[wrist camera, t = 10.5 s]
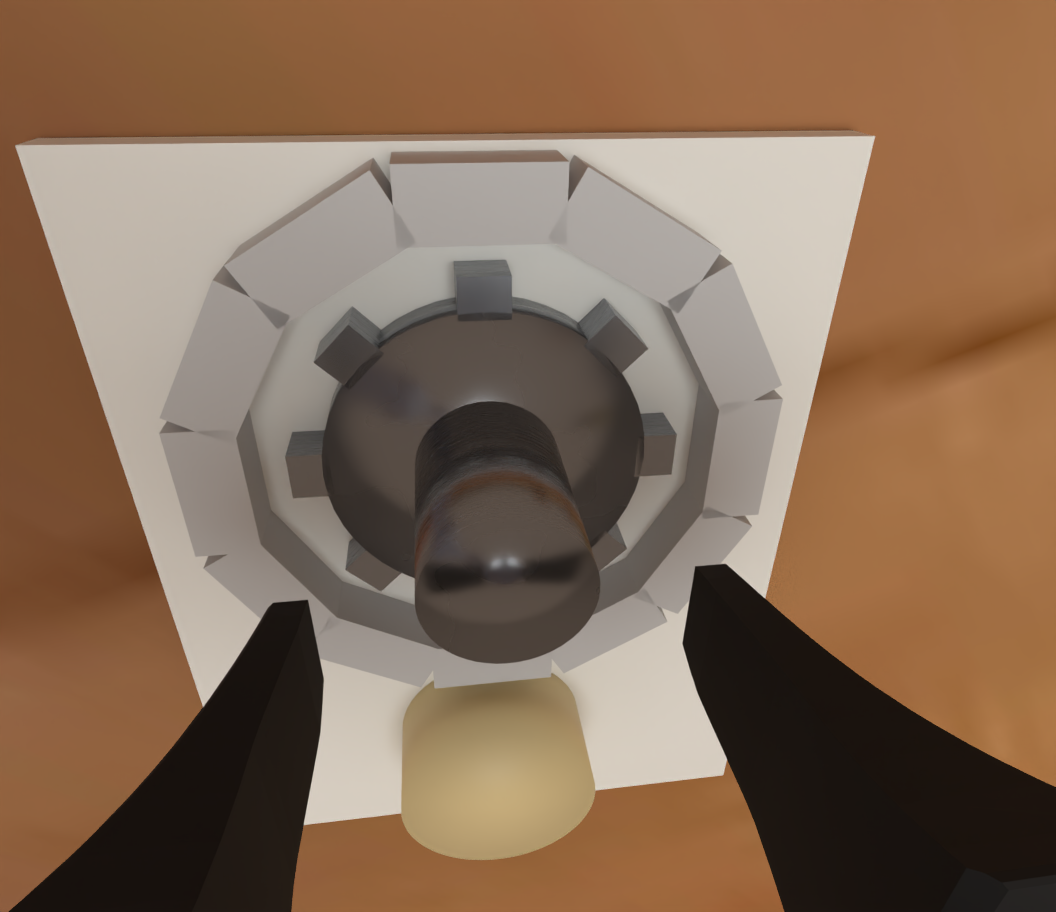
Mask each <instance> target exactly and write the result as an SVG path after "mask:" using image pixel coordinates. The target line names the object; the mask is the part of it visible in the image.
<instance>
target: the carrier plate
mask: <svg viewBox="0 0 1056 912" xmlns="http://www.w3.org/2000/svg"><path fill="white" fill-rule="evenodd" d="M874 138H875V136H872V135H869V134H865V133H861V132H857V131H853V130H825V131H720V132H616V133H512V134H408V135H303V136H199V137H95V138H36V139H33V140H30V141H27V142H24V143H21V144H18V145H15V147H16V150H17V153H18V155H19V158H20V161H21V164H22V167H23V170H24V173H25V176H26V179H27V182H28V185H29V188H30V191H31V194H32V197H33V200H34V203H35V206H36V209H37V212H38V215H39V218H40V221H41V224H42V227H43V230H44V233H45V236H46V239H47V242H48V245H49V248H50V251H51V254H52V257H53V260H54V263H55V266H56V269H57V272H58V275H59V278H60V281H61V284H62V287H63V290H64V293H65V296H66V299H67V302H68V305H69V308H70V311H71V314H72V317H73V320H74V323H75V326H76V329H77V332H78V335H79V338H80V341H81V344H82V347H83V350H84V353H85V356H86V359H87V362H88V365H89V367H90V370H91V373H92V376H93V379H94V382H95V385H96V388H97V391H98V394H99V397H100V400H101V403H102V406H103V409H104V412H105V415H106V418H107V421H108V424H109V427H110V430H111V433H112V436H113V439H114V442H115V445H116V448H117V451H118V454H119V457H120V460H121V463H122V466H123V469H124V472H125V475H126V478H127V481H128V484H129V487H130V490H131V493H132V496H133V499H134V502H135V505H136V508H137V511H138V514H139V517H140V520H141V523H142V526H143V529H144V532H145V535H146V538H147V541H148V544H149V547H150V550H151V553H152V556H153V559H154V562H155V565H156V568H157V571H158V574H159V576H160V579H161V582H162V585H163V588H164V591H165V594H166V597H167V600H168V603H169V606H170V609H171V612H172V615H173V618H174V621H175V624H176V627H177V630H178V633H179V636H180V639H181V642H182V645H183V648H184V651H185V654H186V657H187V660H188V663H189V666H190V669H191V672H192V675H193V678H194V681H195V684H196V687H197V690H198V693H199V696H200V699H201V702H202V705H203V707H204V705H205V704H206V703H207V701H208V700H209V698H210V697H211V696H212V694H213V693H214V691H215V690H216V688H217V687H218V685H219V684H220V683H221V681H222V680H223V678H224V677H225V675H226V674H227V672H228V671H229V669H230V668H231V667H232V665H233V664H234V662H235V660H236V659H237V657H238V656H239V654H240V653H241V651H242V650H243V648H244V647H245V645H246V643H247V642H248V640H249V639H250V637H251V635H252V634H253V632H254V630H255V629H256V627H257V625H258V624H259V622H260V620H261V619H262V617H263V615H264V613H265V612H266V610H267V608H268V607H269V606H270V605H271V604H272V603H275V602H287V601H298V600H308V602H309V607H310V612H311V617H312V622H313V627H314V632H315V637H316V642H317V647H318V652H319V657H320V662H321V667H322V672H323V677H324V687H323V704H322V718H321V732H320V738H319V744H318V750H317V755H316V761H315V766H314V772H313V777H312V783H311V788H310V793H309V799H308V804H307V809H306V815H305V820H304V825H307V824H316V823H324V822H332V821H341V820H349V819H358V818H366V817H375V816H383V815H391V814H400V813H401V816H402V820H403V823H404V825H405V827H406V829H407V831H408V832H409V833H410V835H411V836H412V837H413V838H414V839H415V840H416V841H417V842H419V843H420V844H422V845H423V846H425V847H426V848H428V849H430V850H432V851H434V852H437V853H440V854H443V855H446V856H450V857H454V858H461V859H470V860H492V859H502V858H508V857H514V856H518V855H522V854H526V853H529V852H532V851H535V850H538V849H540V848H543V847H545V846H547V845H549V844H551V843H553V842H555V841H557V840H559V839H560V838H562V837H563V836H565V835H566V834H568V833H569V832H570V831H571V830H573V829H574V828H575V827H576V826H577V825H578V824H579V823H580V822H581V821H582V820H583V819H584V817H585V816H586V815H587V813H588V811H589V810H590V808H591V806H592V803H593V801H594V796H595V790H602V789H610V788H619V787H627V786H636V785H644V784H653V783H661V782H669V781H678V780H686V779H695V778H703V777H711V776H720V775H723V774H724V769H725V765H726V761H727V758H726V756H725V754H724V751H723V749H722V747H721V745H720V743H719V740H718V738H717V736H716V734H715V732H714V729H713V727H712V725H711V723H710V720H709V718H708V716H707V714H706V711H705V709H704V707H703V705H702V702H701V700H700V698H699V695H698V693H697V690H696V687H695V684H694V681H693V678H692V675H691V672H690V668H689V665H688V662H687V658H686V655H685V651H684V648H683V644H682V642H683V636H684V630H685V624H686V618H687V612H688V606H689V600H690V594H691V588H692V582H693V576H694V570H695V566H705V565H716V564H727V565H728V566H729V567H730V568H731V569H733V570H734V571H735V572H736V573H737V574H738V575H739V576H740V577H742V578H743V579H744V580H745V581H746V582H747V583H748V584H749V585H750V586H752V587H753V588H754V589H755V590H756V591H757V592H758V593H759V594H760V595H762V596H763V597H764V598H765V597H766V593H767V588H768V584H769V580H770V576H771V572H772V567H773V563H774V559H775V555H776V551H777V546H778V542H779V538H780V534H781V530H782V525H783V521H784V517H785V513H786V509H787V504H788V500H789V496H790V492H791V487H792V483H793V479H794V475H795V471H796V466H797V462H798V458H799V454H800V450H801V445H802V441H803V437H804V433H805V429H806V424H807V420H808V416H809V412H810V408H811V403H812V399H813V395H814V391H815V386H816V382H817V378H818V374H819V370H820V365H821V361H822V357H823V353H824V349H825V344H826V340H827V336H828V332H829V328H830V323H831V319H832V315H833V311H834V307H835V302H836V298H837V294H838V290H839V285H840V281H841V277H842V273H843V269H844V264H845V260H846V256H847V252H848V248H849V243H850V239H851V235H852V231H853V227H854V222H855V218H856V214H857V210H858V206H859V201H860V197H861V193H862V189H863V185H864V180H865V176H866V172H867V168H868V163H869V159H870V155H871V151H872V147H873V142H874ZM473 260H506V261H507V264H508V266H509V269H510V272H511V274H512V297H518V298H524V299H528V300H531V301H534V302H538V303H541V304H544V305H547V306H549V307H551V308H553V309H555V310H558V311H560V312H562V313H564V314H566V315H567V316H569V317H570V318H572V319H574V320H575V321H577V322H579V321H580V320H581V319H582V318H584V317H585V316H586V315H587V314H588V313H589V312H590V311H591V310H592V309H593V308H594V307H595V306H596V305H597V304H598V303H599V302H600V301H601V300H602V299H603V298H605V299H606V300H607V301H608V302H609V303H610V304H611V305H612V306H613V308H614V309H615V310H616V311H617V312H618V313H619V314H620V315H621V316H622V317H623V318H624V319H625V320H626V321H627V322H628V323H629V324H630V325H631V326H632V327H633V328H634V329H635V330H636V332H637V333H638V335H639V336H640V337H641V339H642V340H643V342H644V343H645V344H646V346H647V347H648V350H647V351H645V352H644V353H643V354H642V355H641V356H640V357H639V358H638V359H637V360H636V361H634V362H633V363H632V364H631V365H630V366H629V367H628V368H627V369H626V370H625V371H623V372H622V374H623V375H624V377H625V379H626V381H627V382H628V384H629V386H630V388H631V390H632V392H633V394H634V397H635V399H636V401H637V403H638V407H639V410H640V414H644V413H664V415H665V416H666V418H667V420H668V421H669V423H670V424H671V426H672V427H673V429H674V431H675V432H676V434H677V438H676V445H675V452H674V459H673V467H672V474H671V475H656V476H640V477H639V480H638V483H637V486H636V489H635V492H634V494H633V496H632V498H631V500H630V502H629V504H628V506H627V508H626V509H625V511H624V512H623V514H622V515H621V517H620V518H619V520H618V521H617V522H616V523H617V524H618V527H619V529H620V532H621V535H622V537H623V540H624V542H625V545H626V547H627V549H626V550H625V551H624V552H623V553H621V554H620V555H619V556H618V557H616V558H615V559H614V560H613V561H611V562H610V563H609V564H608V565H607V566H605V567H604V568H603V569H602V570H600V571H599V575H600V595H599V600H598V603H597V606H596V609H595V611H594V613H593V615H592V617H591V618H590V619H589V621H588V622H587V624H586V625H585V626H584V627H583V628H582V630H581V631H580V632H579V633H578V634H577V635H575V636H574V637H573V638H572V639H571V640H569V641H568V642H567V643H565V644H564V645H562V646H561V647H559V648H557V649H555V650H553V651H551V652H549V653H547V654H545V655H542V656H539V657H536V658H533V659H530V660H526V661H521V662H515V663H504V664H491V663H481V662H475V661H471V660H467V659H464V658H461V657H458V656H456V655H453V654H451V653H450V652H448V651H446V650H444V649H443V648H441V647H440V646H438V645H437V644H436V643H435V642H434V641H433V640H432V639H430V637H429V636H428V635H427V634H426V633H425V631H424V630H423V628H422V626H421V625H420V623H419V620H418V617H417V615H416V610H415V578H413V577H410V576H408V575H405V574H403V573H401V574H400V575H399V576H398V577H397V578H395V579H394V580H393V581H392V582H391V583H390V584H389V585H388V586H387V587H386V588H384V589H383V590H382V591H379V590H377V589H376V588H374V587H372V586H371V585H369V584H368V583H366V582H364V581H363V580H361V579H359V578H358V577H356V576H354V575H353V574H351V573H349V572H348V571H346V570H345V568H346V561H347V553H348V545H349V541H350V540H351V539H352V538H353V537H352V536H351V534H350V533H349V532H348V531H347V529H346V528H345V527H344V526H343V524H342V522H341V521H340V519H339V517H338V516H337V514H336V512H335V511H334V508H333V506H332V504H331V501H330V499H329V496H323V497H307V498H293V496H292V491H291V485H290V480H289V475H288V470H287V464H286V459H285V455H286V452H287V448H288V445H289V442H290V438H291V435H292V432H300V431H319V430H325V428H326V423H327V418H328V414H329V410H330V406H331V401H332V397H333V394H334V392H335V390H336V387H337V385H338V382H339V381H337V380H336V379H335V378H333V377H332V376H331V375H329V374H328V373H327V372H325V371H324V370H323V369H321V368H320V367H319V366H317V365H316V364H315V363H314V359H315V356H316V352H317V349H318V345H319V342H320V341H321V340H322V339H323V338H324V336H325V335H326V334H327V333H328V332H329V331H330V330H331V329H332V328H333V327H334V325H335V324H336V323H337V322H338V321H339V320H340V319H341V318H342V317H343V316H344V314H345V313H346V312H347V311H348V310H349V309H350V308H351V307H352V306H353V307H354V308H355V309H357V310H358V311H359V312H360V313H361V314H363V315H364V316H365V317H366V318H367V319H369V320H370V321H371V322H372V323H374V324H375V325H376V326H377V327H378V328H380V329H383V328H384V327H386V326H387V325H388V324H390V323H391V322H393V321H394V320H396V319H397V318H399V317H401V316H403V315H405V314H407V313H409V312H411V311H413V310H415V309H417V308H420V307H422V306H425V305H428V304H431V303H433V302H436V301H440V300H445V299H449V298H454V297H455V284H454V261H473Z"/></svg>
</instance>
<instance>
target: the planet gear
mask: <svg viewBox="0 0 1056 912" xmlns="http://www.w3.org/2000/svg"><path fill="white" fill-rule="evenodd" d="M454 284H455V297H454V298H449V299H445V300H440V301H436V302H433V303H431V304H428V305H425V306H422V307H420V308H417V309H415V310H413V311H411V312H409V313H407V314H405V315H403V316H401V317H399V318H397V319H396V320H394V321H393V322H391V323H390V324H388V325H387V326H386V327H384V328H383V329H380V328H378V327H377V326H376V325H375V324H374V323H372V322H371V321H370V320H369V319H367V318H366V317H365V316H364V315H363V314H361V313H360V312H359V311H358V310H357V309H355V308H354V307H353V306H352V307H351V308H350V309H349V310H348V311H347V312H346V313H345V314H344V316H343V317H342V318H341V319H340V320H339V321H338V322H337V323H336V324H335V325H334V327H333V328H332V329H331V330H330V331H329V332H328V333H327V334H326V335H325V336H324V338H323V339H322V340H321V341H320V342H319V345H318V349H317V352H316V356H315V359H314V363H315V364H316V365H317V366H319V367H320V368H321V369H323V370H324V371H325V372H327V373H328V374H329V375H331V376H332V377H333V378H335V379H336V380H337V381H339V382H338V385H337V387H336V390H335V392H334V394H333V397H332V401H331V406H330V410H329V414H328V418H327V423H326V428H325V430H319V431H300V432H292V435H291V438H290V442H289V445H288V448H287V452H286V455H285V459H286V464H287V470H288V475H289V480H290V485H291V491H292V496H293V498H307V497H323V496H329V499H330V501H331V504H332V506H333V508H334V511H335V512H336V514H337V516H338V517H339V519H340V521H341V522H342V524H343V526H344V527H345V528H346V529H347V531H348V532H349V533H350V534H351V536H352V537H353V538H352V539H351V540H350V541H349V545H348V553H347V561H346V568H345V570H346V571H348V572H349V573H351V574H353V575H354V576H356V577H358V578H359V579H361V580H363V581H364V582H366V583H368V584H369V585H371V586H372V587H374V588H376V589H377V590H379V591H382V590H383V589H384V588H386V587H387V586H388V585H389V584H390V583H391V582H392V581H393V580H394V579H395V578H397V577H398V576H399V575H400V574H401V573H403V574H405V575H408V576H410V577H413V578H415V610H416V615H417V617H418V620H419V623H420V625H421V626H422V628H423V630H424V631H425V633H426V634H427V635H428V636H429V637H430V639H432V640H433V641H434V642H435V643H436V644H437V645H438V646H440V647H441V648H443V649H444V650H446V651H448V652H450V653H451V654H453V655H456V656H458V657H461V658H464V659H467V660H471V661H475V662H481V663H491V664H504V663H515V662H521V661H526V660H530V659H533V658H536V657H539V656H542V655H545V654H547V653H549V652H551V651H553V650H555V649H557V648H559V647H561V646H562V645H564V644H565V643H567V642H568V641H569V640H571V639H572V638H573V637H574V636H575V635H577V634H578V633H579V632H580V631H581V630H582V628H583V627H584V626H585V625H586V624H587V622H588V621H589V619H590V618H591V617H592V615H593V613H594V611H595V609H596V606H597V603H598V600H599V595H600V575H599V571H600V570H602V569H603V568H604V567H605V566H607V565H608V564H609V563H610V562H611V561H613V560H614V559H615V558H616V557H618V556H619V555H620V554H621V553H623V552H624V551H625V550H626V549H627V547H626V545H625V542H624V540H623V537H622V535H621V532H620V529H619V527H618V524H617V523H616V522H617V521H618V520H619V518H620V517H621V515H622V514H623V512H624V511H625V509H626V508H627V506H628V504H629V502H630V500H631V498H632V496H633V494H634V492H635V489H636V486H637V483H638V480H639V477H640V476H656V475H671V474H672V467H673V459H674V452H675V445H676V438H677V434H676V432H675V431H674V429H673V427H672V426H671V424H670V423H669V421H668V420H667V418H666V416H665V415H664V413H644V414H640V410H639V407H638V403H637V401H636V399H635V397H634V394H633V392H632V390H631V388H630V386H629V384H628V382H627V381H626V379H625V377H624V375H623V374H622V372H623V371H625V370H626V369H627V368H628V367H629V366H630V365H631V364H632V363H633V362H634V361H636V360H637V359H638V358H639V357H640V356H641V355H642V354H643V353H644V352H645V351H647V350H648V347H647V346H646V344H645V343H644V342H643V340H642V339H641V337H640V336H639V335H638V333H637V332H636V330H635V329H634V328H633V327H632V326H631V325H630V324H629V323H628V322H627V321H626V320H625V319H624V318H623V317H622V316H621V315H620V314H619V313H618V312H617V311H616V310H615V309H614V308H613V306H612V305H611V304H610V303H609V302H608V301H607V300H606V299H605V298H603V299H602V300H601V301H600V302H599V303H598V304H597V305H596V306H595V307H594V308H593V309H592V310H591V311H590V312H589V313H588V314H587V315H586V316H585V317H584V318H582V319H581V320H580V321H579V322H577V321H575V320H574V319H572V318H570V317H569V316H567V315H566V314H564V313H562V312H560V311H558V310H555V309H553V308H551V307H549V306H547V305H544V304H541V303H538V302H534V301H531V300H528V299H524V298H518V297H512V274H511V272H510V269H509V266H508V264H507V261H506V260H473V261H454Z"/></svg>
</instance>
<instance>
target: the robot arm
mask: <svg viewBox="0 0 1056 912" xmlns="http://www.w3.org/2000/svg"><path fill="white" fill-rule="evenodd" d="M682 644H683V648H684V651H685V655H686V658H687V662H688V665H689V668H690V672H691V675H692V678H693V681H694V684H695V687H696V690H697V693H698V695H699V698H700V700H701V702H702V705H703V707H704V709H705V711H706V714H707V716H708V718H709V720H710V723H711V725H712V727H713V729H714V732H715V734H716V736H717V738H718V740H719V743H720V745H721V747H722V749H723V751H724V754H725V756H726V758H727V760H728V762H729V765H730V767H731V769H732V771H733V773H734V776H735V778H736V780H737V782H738V784H739V787H740V789H741V791H742V793H743V795H744V798H745V800H746V802H747V805H748V807H749V810H750V812H751V815H752V817H753V819H754V822H755V825H756V827H757V830H758V833H759V836H760V839H761V842H762V845H763V848H764V851H765V854H766V857H767V860H768V862H769V865H770V868H771V871H772V874H773V877H774V880H775V883H776V887H777V890H778V893H779V896H780V899H781V902H782V905H783V909H784V912H1056V787H1054V786H1052V785H1050V784H1047V783H1045V782H1043V781H1041V780H1039V779H1037V778H1035V777H1033V776H1031V775H1029V774H1026V773H1024V772H1022V771H1020V770H1018V769H1016V768H1014V767H1012V766H1010V765H1008V764H1006V763H1004V762H1002V761H1000V760H998V759H996V758H994V757H992V756H990V755H988V754H986V753H985V752H983V751H981V750H979V749H977V748H975V747H973V746H971V745H969V744H968V743H966V742H964V741H962V740H961V739H959V738H957V737H955V736H954V735H952V734H950V733H948V732H947V731H945V730H943V729H941V728H940V727H938V726H936V725H934V724H933V723H931V722H929V721H928V720H926V719H924V718H923V717H921V716H919V715H918V714H916V713H915V712H913V711H911V710H910V709H908V708H907V707H905V706H904V705H902V704H901V703H899V702H898V701H896V700H895V699H893V698H891V697H890V696H888V695H887V694H885V693H884V692H882V691H881V690H879V689H878V688H876V687H875V686H873V685H872V684H871V683H869V682H868V681H866V680H865V679H864V678H862V677H861V676H859V675H858V674H857V673H855V672H854V671H853V670H851V669H850V668H849V667H847V666H846V665H845V664H843V663H842V662H841V661H839V660H838V659H837V658H835V657H834V656H833V655H832V654H830V653H829V652H828V651H826V650H825V649H824V648H823V647H821V646H820V645H819V644H818V643H816V642H815V641H814V640H813V639H811V638H810V637H809V636H808V635H807V634H805V633H804V632H803V631H802V630H801V629H799V628H798V627H797V626H796V625H795V624H794V623H792V622H791V621H790V620H789V619H788V618H787V617H785V616H784V615H783V614H782V613H781V612H780V611H778V610H777V609H776V608H775V607H774V606H773V605H772V604H771V603H769V602H768V601H767V600H766V599H765V598H764V597H763V596H762V595H760V594H759V593H758V592H757V591H756V590H755V589H754V588H753V587H752V586H750V585H749V584H748V583H747V582H746V581H745V580H744V579H743V578H742V577H740V576H739V575H738V574H737V573H736V572H735V571H734V570H733V569H731V568H730V567H729V566H728V565H727V564H716V565H705V566H695V570H694V576H693V582H692V588H691V594H690V600H689V606H688V612H687V618H686V624H685V630H684V636H683V642H682ZM323 687H324V677H323V672H322V667H321V662H320V657H319V652H318V647H317V642H316V637H315V632H314V627H313V622H312V617H311V612H310V607H309V602H308V600H298V601H287V602H275V603H272V604H271V605H270V606H269V607H268V608H267V610H266V612H265V613H264V615H263V617H262V619H261V620H260V622H259V624H258V625H257V627H256V629H255V630H254V632H253V634H252V635H251V637H250V639H249V640H248V642H247V643H246V645H245V647H244V648H243V650H242V651H241V653H240V654H239V656H238V657H237V659H236V660H235V662H234V664H233V665H232V667H231V668H230V669H229V671H228V672H227V674H226V675H225V677H224V678H223V680H222V681H221V683H220V684H219V685H218V687H217V688H216V690H215V691H214V693H213V694H212V696H211V697H210V698H209V700H208V701H207V703H206V704H205V705H204V707H203V708H202V709H201V711H200V712H199V713H198V715H197V716H196V717H195V718H194V720H193V721H192V722H191V724H190V725H189V726H188V728H187V729H186V730H185V732H184V733H183V734H182V735H181V737H180V738H179V739H178V741H177V742H176V743H175V744H174V746H173V747H172V748H171V749H170V751H169V752H168V753H167V754H166V755H165V757H164V758H163V759H162V760H161V761H160V763H159V764H158V765H157V766H156V767H155V768H154V770H153V771H152V772H151V773H150V774H149V775H148V776H147V778H146V779H145V780H144V781H143V782H142V783H141V784H140V785H139V787H138V788H137V789H136V790H135V791H134V792H133V793H132V794H131V795H130V797H129V798H128V799H127V800H126V801H125V802H124V803H123V804H122V805H121V806H120V807H119V808H118V809H117V810H116V811H115V812H114V813H113V814H112V815H111V816H110V817H109V818H108V819H107V821H106V822H105V823H104V824H103V825H102V826H101V827H100V828H99V829H98V830H97V831H96V832H95V833H94V834H93V835H92V836H91V837H90V838H89V839H88V840H87V841H86V842H85V843H84V844H83V845H82V846H81V847H80V848H79V849H78V850H76V851H75V852H74V853H73V854H72V855H71V856H70V857H69V858H68V859H67V860H66V861H65V862H64V863H62V864H61V865H60V866H59V867H58V868H57V869H56V870H55V871H54V872H52V873H51V874H50V875H49V876H48V877H47V878H46V879H45V880H44V881H43V882H41V883H40V884H39V885H38V886H37V887H36V888H35V889H34V890H33V891H31V892H30V893H29V894H28V895H27V896H26V897H25V898H24V899H23V900H21V901H20V902H19V903H18V904H17V905H16V906H15V907H13V908H12V909H11V910H10V911H9V912H291V908H292V897H293V886H294V878H295V872H296V865H297V858H298V852H299V847H300V841H301V836H302V831H303V825H304V820H305V815H306V809H307V804H308V799H309V793H310V788H311V783H312V777H313V772H314V766H315V761H316V755H317V750H318V744H319V738H320V732H321V718H322V704H323Z"/></svg>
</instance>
